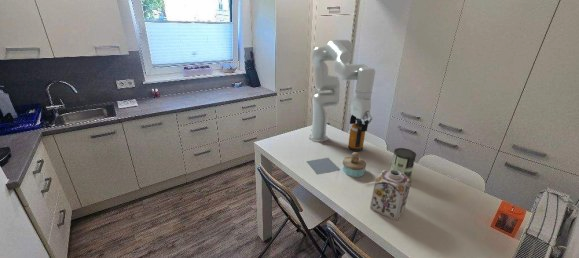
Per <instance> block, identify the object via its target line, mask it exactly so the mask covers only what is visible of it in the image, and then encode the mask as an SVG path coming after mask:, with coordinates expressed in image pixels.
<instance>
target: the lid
mask: <svg viewBox="0 0 579 258" xmlns="http://www.w3.org/2000/svg"><path fill="white" fill-rule="evenodd" d="M342 164H343V165H344V166H346V167H347V168H349V169H353V170H362V169H364V168H365V169H366V168H367V161H366V160H364V159H363V158H361V157H360V153H359V152H358V151H353V152H352V153H351V156H346V157H344V158H343V159H342ZM343 165H342V166H343Z"/></svg>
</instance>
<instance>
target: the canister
mask: <svg viewBox="0 0 579 258" xmlns="http://www.w3.org/2000/svg"><path fill="white" fill-rule="evenodd" d="M362 124H363V122H362V119H358V118H357V117H356V123H355V124H351V128H350V129H349V137H348V145H347V147H348V149H349V150H351V151H353V152H360V151H362V150H363V149H364V142H365V136H366V131H364V132H361V126H362Z"/></svg>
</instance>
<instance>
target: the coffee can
mask: <svg viewBox="0 0 579 258" xmlns="http://www.w3.org/2000/svg"><path fill="white" fill-rule="evenodd" d="M416 157H417V153H416V152H415V151H413V150H412V149H409V148H404V147H398V148H395V149H394V150H393V156H392V162H391V166H390V170H398V171H399V172H402V173H404V174H405V175H406V176H407V177H408V178H409V179H410V180H411V177H412V173H413V169H414V165H415V162H416V161H415V160H416Z"/></svg>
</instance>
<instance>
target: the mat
mask: <svg viewBox="0 0 579 258" xmlns="http://www.w3.org/2000/svg"><path fill="white" fill-rule="evenodd" d="M306 163H307V164H308V165H309V167H310V168H311V169H312V170H313V171H314V173H315V174H316V175H323V174H328V173H332V172H337V171H338V172H339V171H341V168H339V166H337V164H336V163H334V162H333V161H332V160H331V159H330V157H324V158H318V159H312V160H306Z"/></svg>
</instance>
